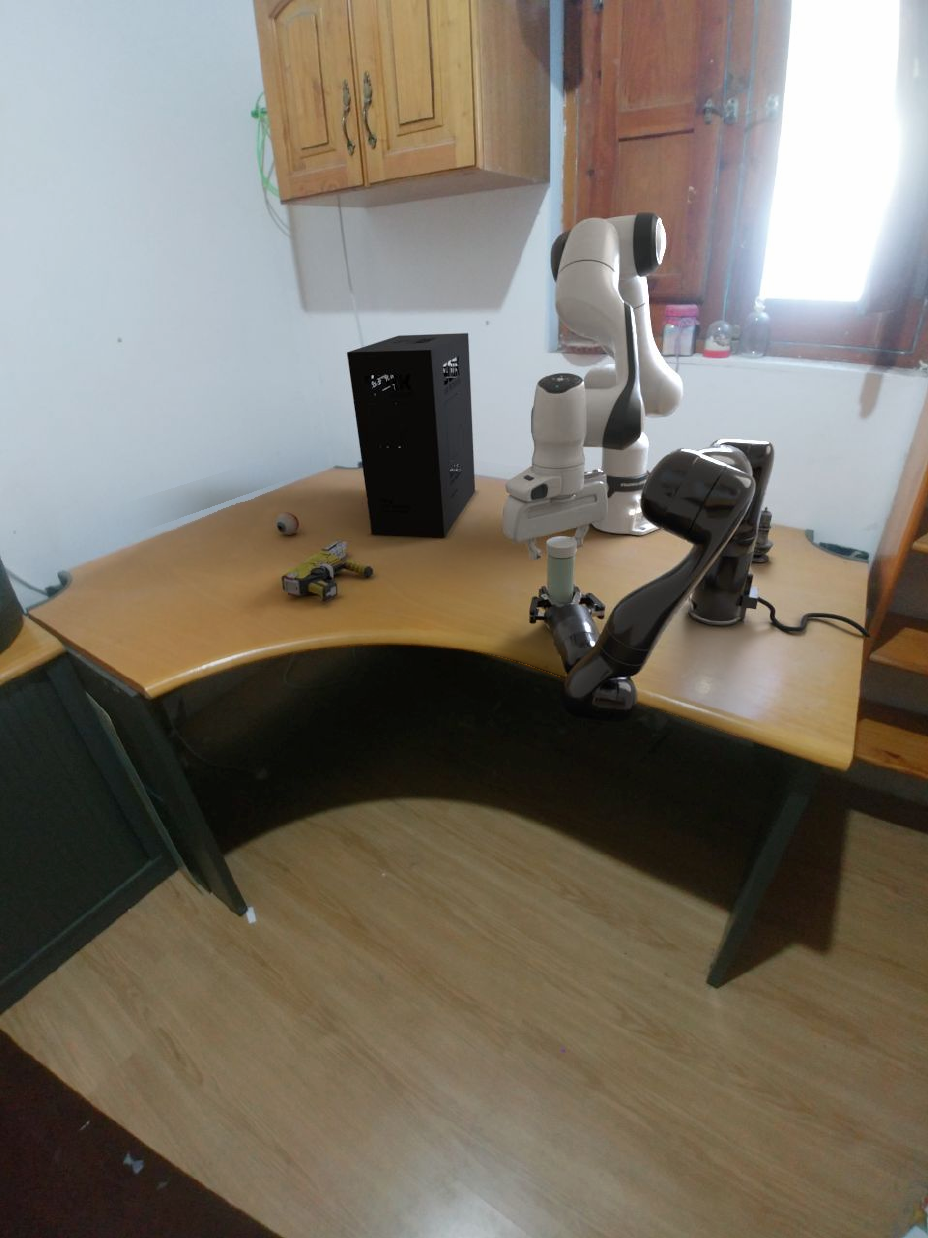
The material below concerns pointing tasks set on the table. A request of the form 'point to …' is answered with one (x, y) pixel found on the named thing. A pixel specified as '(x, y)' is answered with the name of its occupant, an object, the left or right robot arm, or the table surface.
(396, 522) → the black boxy piece
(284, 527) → the eyeball
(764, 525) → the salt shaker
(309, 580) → the toy gun
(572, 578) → the jar
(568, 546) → the lid
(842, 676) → the table surface
